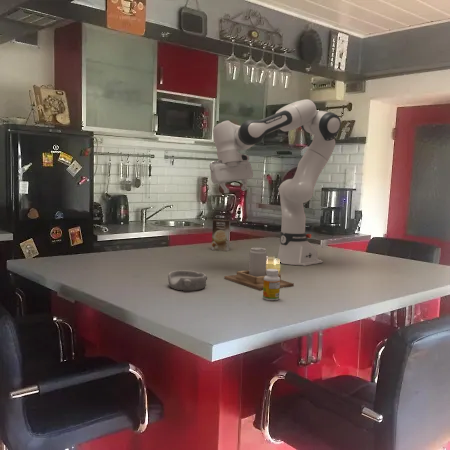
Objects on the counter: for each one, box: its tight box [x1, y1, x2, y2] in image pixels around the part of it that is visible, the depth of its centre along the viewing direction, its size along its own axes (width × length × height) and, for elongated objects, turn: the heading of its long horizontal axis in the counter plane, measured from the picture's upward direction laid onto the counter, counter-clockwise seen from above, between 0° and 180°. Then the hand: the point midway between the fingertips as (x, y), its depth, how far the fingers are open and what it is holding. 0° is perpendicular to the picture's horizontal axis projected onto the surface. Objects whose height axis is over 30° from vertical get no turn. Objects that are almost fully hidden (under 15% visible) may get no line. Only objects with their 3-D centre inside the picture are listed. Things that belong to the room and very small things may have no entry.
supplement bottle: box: [262, 268, 281, 301], centre depth 168 cm, size 5×5×10 cm
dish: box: [167, 269, 208, 292], centre depth 181 cm, size 14×14×5 cm
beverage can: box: [248, 247, 268, 277], centre depth 192 cm, size 6×6×12 cm
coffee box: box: [211, 218, 231, 252], centre depth 270 cm, size 9×6×16 cm
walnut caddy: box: [223, 269, 295, 291], centre depth 193 cm, size 16×22×4 cm
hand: (235, 191), depth 214 cm, fingers open, 8 cm apart
